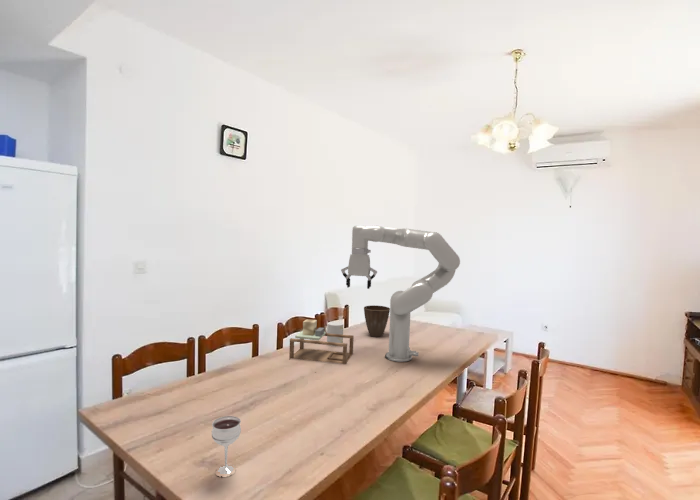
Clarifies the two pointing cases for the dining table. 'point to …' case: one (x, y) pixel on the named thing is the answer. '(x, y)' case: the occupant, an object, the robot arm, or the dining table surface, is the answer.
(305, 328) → the maple block
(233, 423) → the wineglass
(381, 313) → the plant pot
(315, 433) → the dining table surface
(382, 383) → the dining table surface
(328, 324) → the cup
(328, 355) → the wooden table frame
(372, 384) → the dining table surface
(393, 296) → the robot arm
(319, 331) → the lid
